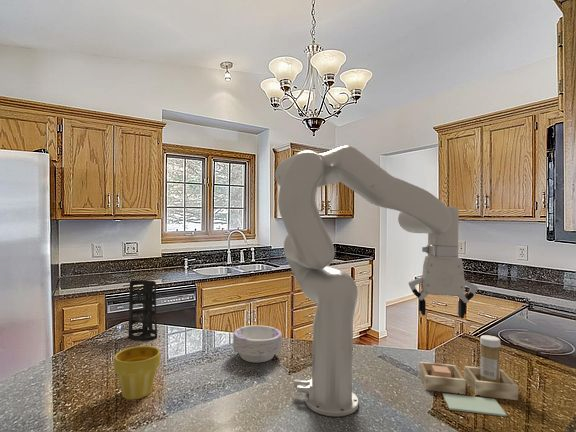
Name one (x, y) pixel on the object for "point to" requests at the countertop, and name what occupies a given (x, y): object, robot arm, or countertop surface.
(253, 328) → the white bowl
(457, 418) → the countertop surface
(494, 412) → the mat
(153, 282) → the holder
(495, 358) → the sprinkles bottle
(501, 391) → the box
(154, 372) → the plant pot
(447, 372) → the terracotta cube
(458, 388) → the box
